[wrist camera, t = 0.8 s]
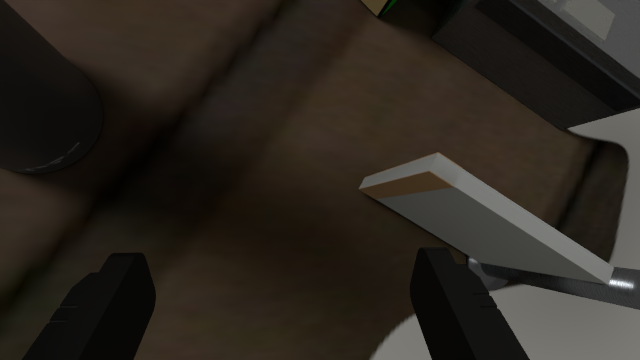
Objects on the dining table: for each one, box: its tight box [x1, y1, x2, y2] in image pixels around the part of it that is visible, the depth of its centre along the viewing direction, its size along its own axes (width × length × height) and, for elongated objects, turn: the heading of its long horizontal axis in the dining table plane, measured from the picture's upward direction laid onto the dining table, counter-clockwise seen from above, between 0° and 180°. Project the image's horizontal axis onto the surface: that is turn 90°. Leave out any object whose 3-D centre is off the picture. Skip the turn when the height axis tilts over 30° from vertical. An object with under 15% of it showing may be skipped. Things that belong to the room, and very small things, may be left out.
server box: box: [431, 0, 640, 130], centre depth 33 cm, size 18×9×10 cm, turn 61°
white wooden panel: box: [359, 152, 614, 285], centre depth 27 cm, size 14×1×12 cm, turn 61°
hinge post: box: [466, 255, 640, 310], centre depth 28 cm, size 5×5×14 cm
